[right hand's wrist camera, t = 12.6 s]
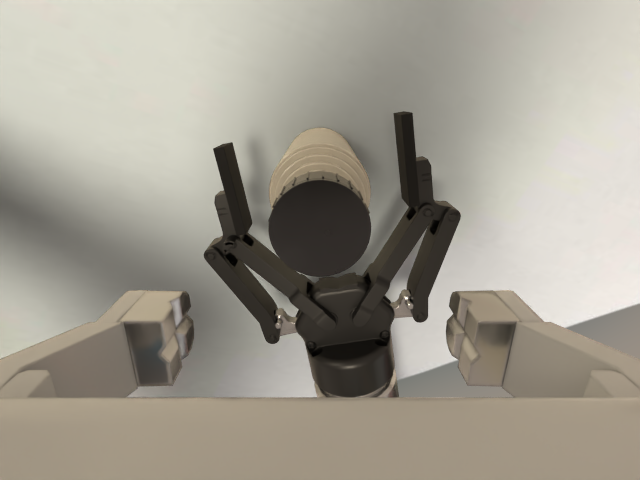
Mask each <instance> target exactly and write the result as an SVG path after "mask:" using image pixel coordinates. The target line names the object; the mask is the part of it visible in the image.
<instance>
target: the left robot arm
mask: <svg viewBox="0 0 640 480" xmlns="http://www.w3.org/2000/svg"><path fill="white" fill-rule="evenodd" d="M394 122H395V132H396V143H397V153H398V163H399V173H400V183H401V193H402V199H403V200H404V201H405V202H406V204H407V205H408V206H409V208H408V209H407V211H406V213H405V214H404V216H403V217H402V219H401V220H400V222H399V224H398V225H397V227H396V228H395V230H394V231H393V233H392V234H391V236H390V238H389V239H388V241H387V242H386V244H385V245H384V247H383V249H382V250H381V252H380V253H379V255H378V256H377V258H376V259H375V261H374V262H373V263H371V264H370V265H369V267H368V268H367V270H366V271H365V273H364V275H363V276H359V275H356V273H350V274H345V275H343V276H341V277H338V278H335V277H324V278H319V281H318V282H316V283H315V284H314V283H313V282H312V281H311V280H309V279H308V278H307V277H306V276H304V275H303V274H299V273H297V272H296V271H295V270H294V269H292V268H290V267H289V266H288V265H286V264H285V263H284V262H283V261H282V260H281V259H280V258H279V257H277V256H276V255H275V254H274V253H272V252H271V251H270V250H269V249H267V248H266V247H265V246H264V245H263V244H261V243H260V242H259V241H258V240H256V239H255V238H254V237H253V236H251V235H250V234H249V233H248V230H249V228H250V227H251V225H252V220H251V216H250V212H249V208H248V204H247V199H246V195H245V191H244V187H243V183H242V179H241V175H240V171H239V167H238V163H237V159H236V155H235V151H234V147H233V143H227V144H222V145H220V146H218V147H216V148H214V149H213V150H214V154H215V157H216V161H217V165H218V169H219V172H220V176H221V180H222V183H223V187H224V191H220V192H219V193H218V194H217V195H216V196H215V206H216V210H217V213H218V217H219V220H220V224H221V227H222V231H223V236H221V237H220V238H216V239H214V240H213V242H212V243H211V244H210V246H209V247H208V248H207V250H206V251H205V253H204V258H205V260H206V261H207V262H208V263H209V264H210V266H211V267H212V268H213V269H214V270H215V271H216V273H217V274H218V275H219V276H220V277H221V278H222V280H223V281H224V282H225V283H226V284H227V285H228V287H229V288H230V289H231V290H232V291H233V292H234V294H235V295H236V296H237V297H238V298H239V299H240V301H241V302H242V303H243V304H244V305H245V306H246V308H247V309H248V310H249V311H250V312H251V314H252V315H253V316H254V317H255V318H256V319H257V321H258V322H259V323H260V326H261V328H262V331H263V334H264V337H265V339H266V341H267V342H268V343H271V344H275V343H277V342H278V341H279V338H280V336H282V335H286V334H291V333H296V332H298V334H299V335H300V336H301V337H302V338H303V339H304V341H305V345H306V349H307V354H308V358H309V363H310V367H311V372H312V376H313V379H314V381H315V384H314V386H315V390H316V394H317V397H399V394H398V386H397V379H396V371H395V369H394V367H395V363H394V355H393V347H392V339H391V331H390V328H391V324H392V322H393V320H394V318H401V317H413V318H414V320H415V321H416V322H420V323H421V322H424V321H425V320H426V319H427V318H428V297H429V294H430V292H431V289H432V287H433V284H434V282H435V280H436V277H437V275H438V272H439V270H440V267H441V265H442V262H443V260H444V257H445V255H446V252H447V250H448V248H449V245H450V243H451V240H452V238H453V235H454V233H455V230H456V228H457V225H458V223H459V221H460V217H461V215H460V212H459V211H458V210H457V209H455V208H454V207H453V206H452V205H451V204H449V203H448V202H446V201H435V200H434V199H433V188H432V174H431V165H430V163H429V161H428V159H426V158H424V157H423V156H422V157H417V158H416V152H415V140H414V128H413V115H412V113H410V112H398V113H394ZM427 227H428V228H427ZM426 228H427V230H426ZM425 230H426V233H425V236H424V238H423V241H422V244H421V246H420V249H419V251H418V254H417V257H416V259H415V262H414V265H413V267H412V270H411V273H410V275H409V278H408V282H407V290H405V289H404V290H402V291H401V293H400V295H399V298H398V300H397V301H395V302H392V303H391V301H390V300H389V299H388V298H387V297H386V296H385V294H386V292H387V291H388V289H389V287H390V282H391V280H392V279H393V277H394V276H395V274H396V273H397V271H398V270H399V268H400V267H401V265H402V264H403V262H404V261H405V259H406V258H407V256H408V255H409V253H410V252H411V250H412V249H413V247H414V246H415V244H416V243H417V241H418V240H419V239H420V237H421V236H422V234H423V233H424V231H425ZM244 263H245V264H246V265H247V266H248V267H250V268H251V269H252V270H254V271H255V272H256V273H257V274H259V275H260V276H261V277H263V278H264V279H265V280H266V281H268V282H269V283H270V284H272V285H273V286H274V287H276V288H277V289H278V290H279V291H281V292H282V293H283V294H285V295H286V296H287V297H288V298H289V300H290V302H291V303H292V304H293V305H294V306H295V307H297V308H298V309H299V311H298V312H297V315H296V317H290V316H288V315H287V313H286V312H285V311H284V309H282V308H279V309H278V308H277V305H276V304H275V302H274V300H273V299H272V297H271V296H270V295H269V294H268V293H267V291H266V290H265V289H264V288H263V286H262V285H261V284H260V283H259V282H258V280H257V279H256V278H255V277H254V275H253V274H252V273H251V272H250V271H249V269H248V268H247V267H246V266H245V264H244Z"/></svg>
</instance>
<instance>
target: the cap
mask: <svg viewBox="0 0 640 480" xmlns="http://www.w3.org/2000/svg"><path fill="white" fill-rule="evenodd" d="M363 200H364V199H363V197H362V195H361V192H360V191H358V190H357V189H356V187H355V186H354V185H353V184H352V183H351V181H350V180H349V181H348V180H347V179H345V178H344V177H342V176H340V175H338V173H336V174H334V173H331V172H326V171H324V170H322V171H315V172H309V171H308V172H307V173H305V174H302V175H300V176H298V177H294V179H293V180H292V181H290V182H289V183H288V184H287V185H286V186H283V188H282V191H281V192H280V194H279V196H278V198H277V197H276V199H275V202H274V204H273V206H272V208H273V210H272V212H271V216H270V218H269V237H270V241H271V244H272V246H273V249H274V250H275V252H276V254H277V255H278V256H279V258H280V259H281V260H282V261H283V262H284V263H285V264H286V265H288V266H289V267H290V268H292V269H294V270H295V271H297V272H300V273H302V274H306V275H310V276H330V275H334V274H337V273H340V272H342V271H344V270H346V269H348V268H349V267H351V266H352V265H353V264H355V263H356V262H357V261H358V260H359V259H360V257H361V256H362V255H363V253H364V252H365V250H366V248H367V245H368V243H369V239H370V235H371V222H370V216H369V210H368V208H367V205H366V203H364V201H363Z"/></svg>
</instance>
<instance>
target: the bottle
mask: <svg viewBox="0 0 640 480" xmlns="http://www.w3.org/2000/svg"><path fill="white" fill-rule="evenodd" d="M322 170H324V171H326V172H331V173H334V174H336V173H338V175H340V176H342V177H344V178H345V179H347V180H348V181H349V180H350V181H351V183H352V184H353V185H354V186H355V187H356V189H357V190H358V191H360V192H361V195H362V197H363V199H364V200H363V201H364V203H366V205H367V208H368V207H369V203H370V196H371V190H370V182H369V179H368V175H367V173H366V171H365V169H364V167H363V166H362V164H361V163H360V161H359V159H358V158H357V156H356V155H355V153H354V152H353V150H352V148H351V147H350V145H349V144H348V142H347V141H346V140H345V138H344V137H343V136H341V135H340V134H339V133H337V132H335V131H333V130H331V129H327V128H312V129H309V130H306V131H304V132H302V133H301V134H299V135H298V136H297V137H296V138H295V139H294V140H293V142H292V143H291V145H290V146H289V148H288V149H287V151H286V153H285V154H284V156H283V157H282V159H281V160H280V162H279V164H278V165H277V167H276V169H275V170H274V172H273V175H272V177H271V181H270V186H269V199H270V204H271V208H272V206H273V204H274V202H275V199H276V197H277V198H278V196H279V194H280V192H281V191H282V188H283V186H286V185H287V184H288V183H289V182H290V181H292V180H293V179H294V177H298V176H300V175H302V174H305V173H307V172H308V171H309V172H315V171H322ZM272 210H273V208H272Z"/></svg>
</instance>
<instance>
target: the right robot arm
mask: <svg viewBox="0 0 640 480" xmlns="http://www.w3.org/2000/svg"><path fill="white" fill-rule="evenodd" d="M190 307H191V304H190V298H189V295H188V293H187V292H186V291H148V290H136V291H127V292H126V293H125V294H124V295H123V296H122V297H121V298H120V299H118V300H117V301H116V302H115V303H114V304H113V305H112V306H111V307H110V308H109V309H108V310H107V311H106V312H105V313H104V314H103V315H102V316H101V317H100V318H99V319H98V320H97V321H96V322H89V323H86V324H84V325H81V326H79V327H76V328H74V329H72V330H69V331H67V332H64V333H62V334H60V335H57V336H55V337H52V338H50V339H48V340H45V341H43V342H40V343H38V344H36V345H33V346H31V347H28V348H26V349H23V350H21V351H19V352H16V353H14V354H11V355H9V356H7V357H4V358H2V359H0V480H640V359H638V358H636V357H633V356H631V355H628V354H626V353H623V352H621V351H619V350H616V349H614V348H612V347H609V346H607V345H604V344H602V343H599V342H597V341H595V340H592V339H590V338H587V337H585V336H583V335H580V334H578V333H575V332H573V331H571V330H568V329H566V328H563V327H561V326H559V325H556V324H554V323H551V322H544V321H543V320H542V319H541V318H540V317H539V316H538V315H537V314H536V313H535V312H534V311H533V310H532V309H531V308H530V307H529V306H528V305H527V304H526V303H525V302H524V301H523V300H522V299H521V298H520V297H519V296H518V295H517V294H516V293H515V292H514V291H510V290H500V291H493V290H492V291H456V292H453V293H452V295H451V298H450V304H449V307H450V309H451V310H452V312H453V315H452V316H451V317H450V318H449V319H448V320H447V326H446V339H447V344H448V348H449V351H450V353H451V355H452V356H453V357H455V358H457V359H458V360H459V363H458V368H459V370H460V372H461V374H462V376H463V378H464V380H465V382H466V384H467V385H468V386H501V387H502V388H503V389H504V390H506V391H507V392H508V393H509V394H511V395H512V396H513V397H415V398H414V397H407V398H406V397H405V398H404V397H194V398H126V397H127V396H128V395H129V394H131V393H132V392H133V391H135V390H136V389H137V388H138V387H139V386H173V384H174V382H175V380H176V378H177V376H178V374H179V372H180V370H181V368H182V363H181V360H182V359H183V358H185V357H187V356H188V355H189V353H190V350H191V348H192V344H193V339H194V325H193V320H192V319H191V318H190V317H189V316H188V315H187V312H188V310H189V309H190Z"/></svg>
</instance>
